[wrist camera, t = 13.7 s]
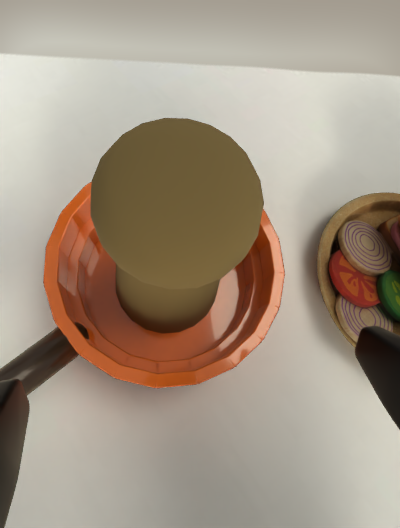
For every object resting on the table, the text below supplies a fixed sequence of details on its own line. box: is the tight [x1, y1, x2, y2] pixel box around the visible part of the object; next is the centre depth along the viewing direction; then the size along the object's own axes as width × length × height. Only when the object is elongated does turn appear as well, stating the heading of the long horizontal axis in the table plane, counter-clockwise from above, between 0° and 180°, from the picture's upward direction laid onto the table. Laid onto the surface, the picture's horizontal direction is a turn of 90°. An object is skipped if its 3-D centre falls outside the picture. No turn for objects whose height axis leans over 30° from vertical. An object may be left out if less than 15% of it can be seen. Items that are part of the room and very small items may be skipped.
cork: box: [90, 118, 264, 333], centre depth 13 cm, size 6×6×11 cm
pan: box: [43, 182, 285, 388], centre depth 17 cm, size 12×12×4 cm
